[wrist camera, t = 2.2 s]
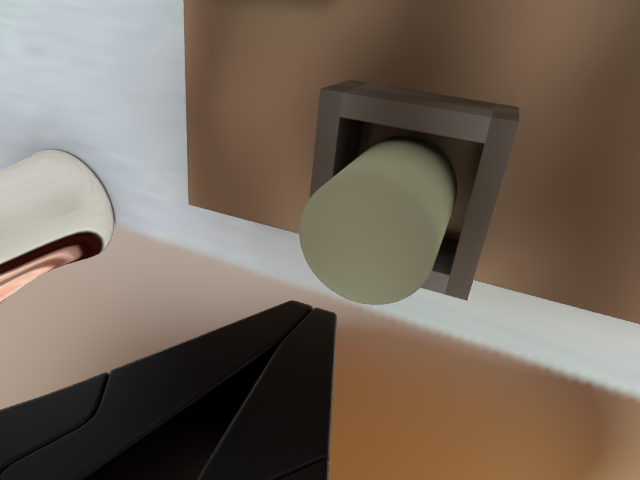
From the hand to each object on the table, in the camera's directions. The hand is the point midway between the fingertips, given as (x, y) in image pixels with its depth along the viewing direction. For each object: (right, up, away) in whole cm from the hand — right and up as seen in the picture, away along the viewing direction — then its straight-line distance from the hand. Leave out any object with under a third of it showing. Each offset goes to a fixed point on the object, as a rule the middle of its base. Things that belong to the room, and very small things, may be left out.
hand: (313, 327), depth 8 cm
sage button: (+3, +3, +7) cm, 8 cm away
